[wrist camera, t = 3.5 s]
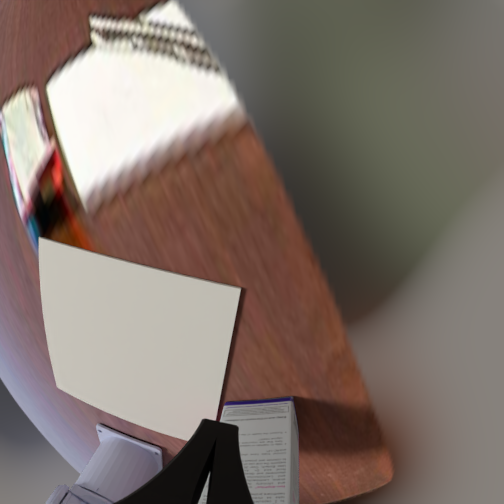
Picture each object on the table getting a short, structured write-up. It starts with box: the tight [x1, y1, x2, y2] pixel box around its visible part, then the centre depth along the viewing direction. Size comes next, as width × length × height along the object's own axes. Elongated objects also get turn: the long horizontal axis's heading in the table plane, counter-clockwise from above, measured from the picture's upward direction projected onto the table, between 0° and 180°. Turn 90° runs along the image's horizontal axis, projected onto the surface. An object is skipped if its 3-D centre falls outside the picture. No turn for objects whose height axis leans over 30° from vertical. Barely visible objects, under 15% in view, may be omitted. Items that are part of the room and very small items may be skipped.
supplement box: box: [198, 396, 299, 504], centre depth 16 cm, size 6×6×11 cm
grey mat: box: [39, 237, 241, 441], centre depth 21 cm, size 17×18×1 cm
